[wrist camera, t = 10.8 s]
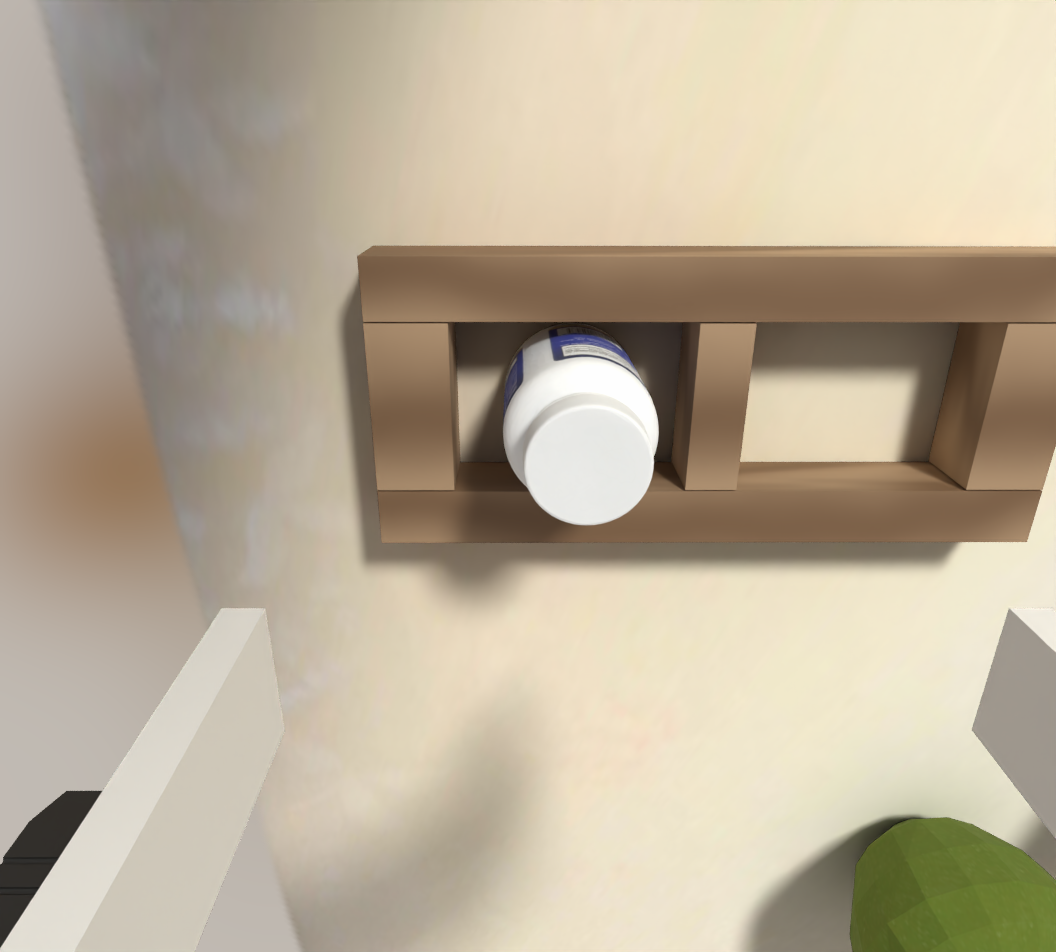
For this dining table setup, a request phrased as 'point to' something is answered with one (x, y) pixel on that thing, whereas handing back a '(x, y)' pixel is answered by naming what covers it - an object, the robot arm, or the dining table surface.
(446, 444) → the wooden frame
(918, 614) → the dining table surface
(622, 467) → the pill bottle
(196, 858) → the robot arm
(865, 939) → the apple
